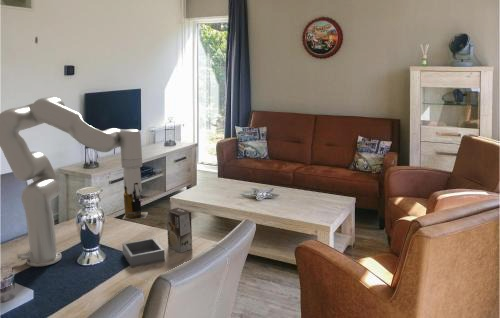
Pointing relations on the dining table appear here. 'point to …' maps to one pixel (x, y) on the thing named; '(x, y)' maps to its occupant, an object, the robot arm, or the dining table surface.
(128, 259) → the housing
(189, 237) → the coffee box
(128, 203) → the condiment
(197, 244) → the dining table surface
